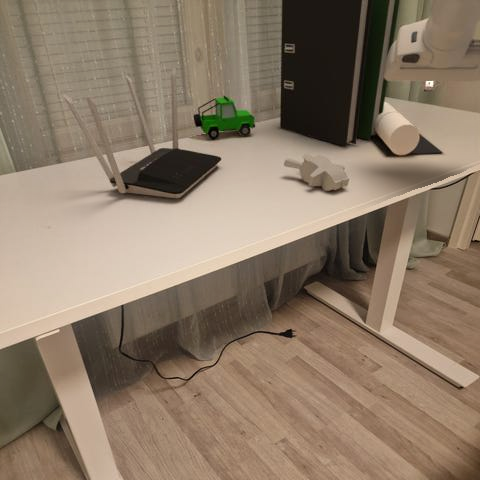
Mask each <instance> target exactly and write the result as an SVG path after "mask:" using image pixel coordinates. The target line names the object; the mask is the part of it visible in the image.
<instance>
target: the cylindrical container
mask: <svg viewBox="0 0 480 480" xmlns="http://www.w3.org/2000/svg"><path fill="white" fill-rule="evenodd" d="M375 131H376V133H377V134H378V135H379V137H380V138H381V139H382V140H383V141H384V142H385V144H386V145H387V146H388V147H389V148H390V149H391V151H392V152H393V153H395V154H397V155H396V156H406V155H405V154H408V153H410V152H411V151H413V150H414V149H415V147H416V146H417V144H418V142H419V138H420V135H421V134H420V131H419V129H418V128H417V127H416V126H415V125H414V124H413V123H412V122H411V121H409V120H408V119H407V118H406V117H405V116H404V115H402V114H401V112H399V111H398V110H396V108H394V107H393V106H392V105H391V104H390V103H389V102H387V101H384V108H383V112H382V113H381V114H379V115H378V116H377V118H376V121H375ZM419 134H420V135H419Z"/></svg>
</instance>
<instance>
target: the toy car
mask: <svg viewBox="0 0 480 480" xmlns="http://www.w3.org/2000/svg"><path fill="white" fill-rule="evenodd" d="M214 101H215V103H214V105H212V106H211V107H209V108H207V109H205V110H203V111H202V112H201V110H200V109H201V108H204V107H205V106H207V105H208V104H210V103H212V102H214ZM214 108H215V114H205V113H206V112H208V111H209V110H212V109H214ZM197 111H198V113H196V114H193V122H194V125H195V128H200V129H201V130H202V132H203V134H207V136H208V138H209V139H210V140H213V141H216V140H217V139H218V138H219V137H220V133H222V132H232V131H237V132H238V133H239V135H240V136H241V137H248V136H249V135H250V134H251V130H253V129H255V128H256V123H255V116H254V115H252V114H251V113H250V111H248V110H247V109H237V108H236V105H235V102H234V100H232V99H231V98H230V97H229V96H226V95H223V96H222V97H216V98H213V99H211V100H209V101H207V102H206V103H204V104H202V105H201V106H198V108H197ZM204 114H205V115H204Z"/></svg>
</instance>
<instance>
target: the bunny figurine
mask: <svg viewBox="0 0 480 480" xmlns="http://www.w3.org/2000/svg"><path fill="white" fill-rule="evenodd" d="M301 157H302V159H303V162H301V161H299V160H297V159H293V158H285V160H284V162H283V166H284V167H285V168H290V169H297V170H298V171H299V173H300V177H301V180H303V181H304V182H306V183H307V184H308V186H309V187H322V188H321V189H322V190H323V191H324V192H330V191H332V190H334V191H336V190H338V189H341V188H345V187H347V186H349V182H350V178H349V177H348V175H347V173H346V171H345V166H344V165H342V164H336V163H333V162H332V161H331V159H330V158H329V157H327V156H325V155H321V154H320V155H319V154H318V155H314V156H313V155H312V154H311V153H303V154H302V156H301Z"/></svg>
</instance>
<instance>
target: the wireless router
mask: <svg viewBox="0 0 480 480" xmlns="http://www.w3.org/2000/svg"><path fill="white" fill-rule="evenodd" d="M124 77H125V79H126V83H127V86H128V89H129V91H130V94H131V97H132V101H133V103H134V106H135V109H136V112H137V115H138V118H139V121H140V124H141V127H142V129H143V133H144V136H145V139H146V143H147V145H148V147H149V151H150V154H149V155H147V156H145V157H143V158H142V159H141V160H139V161H137V162H136V163H134V164H132V165H130V166H128V167H127V168H126V169H124V170H122V171H120V169H119V167H118V164H117V161H116V159H115V156H114V152H113V150H112V147H111V145H110V142H109V139H108V136H107V134H106V131H105V128H104V126H103V123H102V120H101V117H100V115H99V114H100V113H99V112H98V108H97V106H96V103H94V102H93V100H92V99H91V98H86V101H87V105H88V108H89V110H90V114H91V116H92V118H93V121H94V124H95V128H96V130H97V132H98V135H99V139H100V142H101V144H102V147H103V150H104V153H105V155H106V158H107V161H108V162H107V161H106V159H105V157H104V155H103V153H102V151H101V150H100V148H99V146H98V144H97V143H96V140H95V139H94V137H93V135H92V134H91V132H90V130H89V128H88V126H87V124H86V122H85V121H84V119H83V117H82V116H81V114H80V112H79V110H78V108H77V107H76V105H75V103H74V101H73V99H72V98H71V97H70V96H68V95H67V94H65V93H64V94H63V95H62V97H63V99H64V100H65V102H66V104H67V106H68V108H69V109H70V110H71V113H72V115H73V116H74V118H75V120H76V122H77V124H78V127H80V129H81V131H82V134H83V135H84V137H85V138H86V140H87V142H88V144H89V145H90V148H91V149H92V152H93V153H94V154H95V156H96V159H97V160H98V162H99V164H100V166H101V167H102V169H103V171H104V173H105V175H106V177H107V179H108V180H109V183H110V184H111V186H112V188H115V187H117V190H118V192H119V193H120V194H125V193H127V194H134V195H135V194H136V195H145V196H154V197H161V198H169V199H180V198H181V197H183V196H184V195H185V194H187V192H188V191H190V190H191V189H192V188H193V187H195V185H196V184H198V183H199V182H200V181H202V179H204V178H205V177H206V176H207V175H208V174H210V173H211V172H212V171H214V170H215V168H216V167H217V165H218V164H219V163H220V162H221V161H222V158H221V156H218V155H215V154H208V153H203V152H198V151H193V150H187V149H180V148H179V126H178V125H179V124H178V123H179V121H178V94H177V93H178V91H177V68H176V67H173V68H172V70H171V73H170V81H171V82H170V83H171V85H170V86H171V130H172V131H171V132H172V137H171V138H172V139H171V140H172V148H171V147H170V148H169V147H162V148H158V149H156V148H155V145H154V143H153V139H152V136H151V134H150V130H149V128H148V124H147V122H146V119H145V116H144V113H143V110H142V107H141V105H140V100H139V98H138V95H137V92H136V89H135V87H134V84H133V81H132V79H131V78H130V77H129V75H128V74H125V76H124ZM108 163H109V164H108Z"/></svg>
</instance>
